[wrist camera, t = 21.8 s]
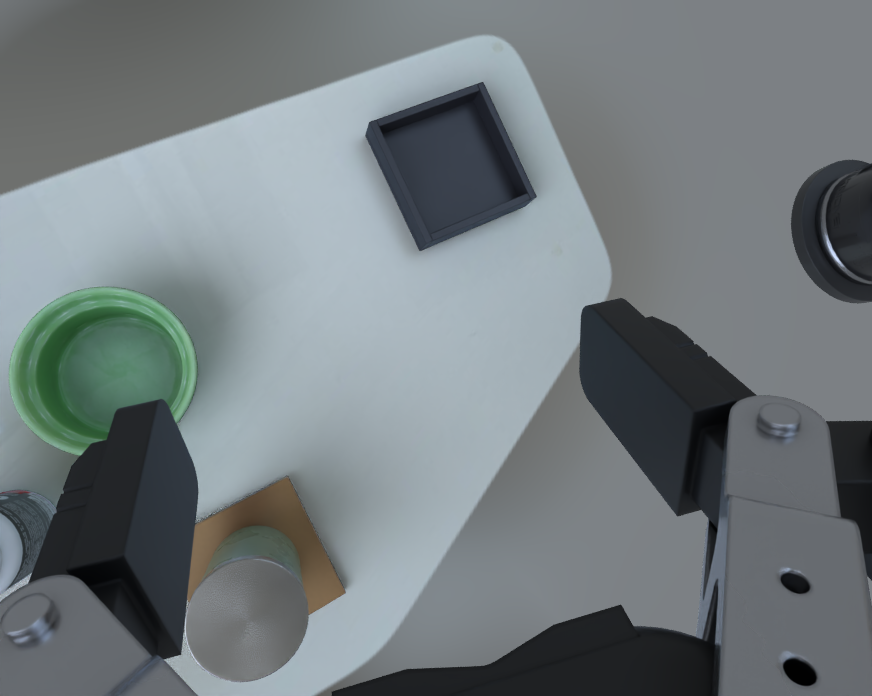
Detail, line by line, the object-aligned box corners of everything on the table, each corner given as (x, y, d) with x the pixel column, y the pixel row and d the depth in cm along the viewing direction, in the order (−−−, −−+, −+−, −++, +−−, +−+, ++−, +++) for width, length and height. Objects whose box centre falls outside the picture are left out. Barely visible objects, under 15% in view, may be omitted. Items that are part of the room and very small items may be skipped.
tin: (314, 538, 38) (325, 576, 29) (282, 627, 37) (284, 695, 28) (227, 512, 37) (211, 544, 28) (192, 603, 36) (164, 666, 27)
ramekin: (75, 478, 35) (47, 487, 31) (15, 332, 35) (-21, 321, 31) (229, 416, 38) (222, 416, 33) (172, 279, 38) (159, 262, 33)
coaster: (287, 475, 38) (287, 476, 38) (345, 590, 38) (346, 593, 38) (160, 541, 36) (158, 543, 36) (222, 663, 36) (221, 667, 36)
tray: (474, 95, 44) (483, 81, 42) (525, 206, 44) (536, 196, 42) (364, 135, 42) (369, 122, 40) (419, 251, 42) (426, 243, 40)
